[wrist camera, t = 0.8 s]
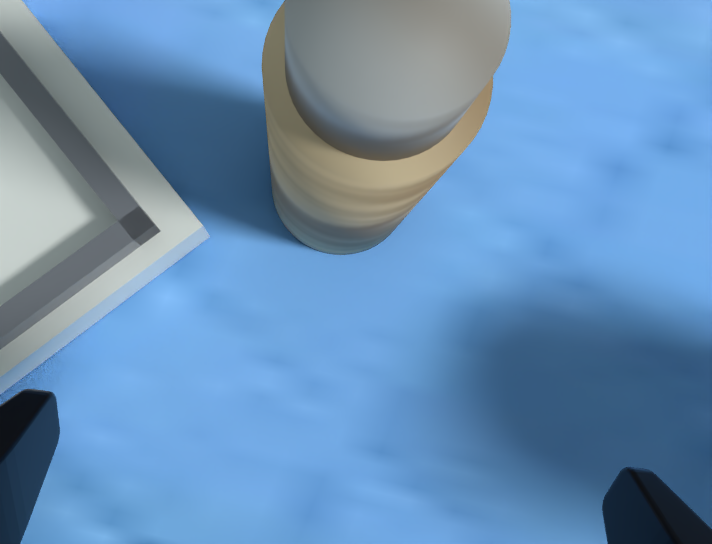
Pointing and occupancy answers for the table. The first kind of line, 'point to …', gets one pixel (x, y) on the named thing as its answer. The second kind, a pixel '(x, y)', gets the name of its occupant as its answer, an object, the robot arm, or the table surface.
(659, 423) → the table surface
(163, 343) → the table surface
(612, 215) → the table surface
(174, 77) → the table surface
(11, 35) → the stand
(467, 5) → the pepper mill
